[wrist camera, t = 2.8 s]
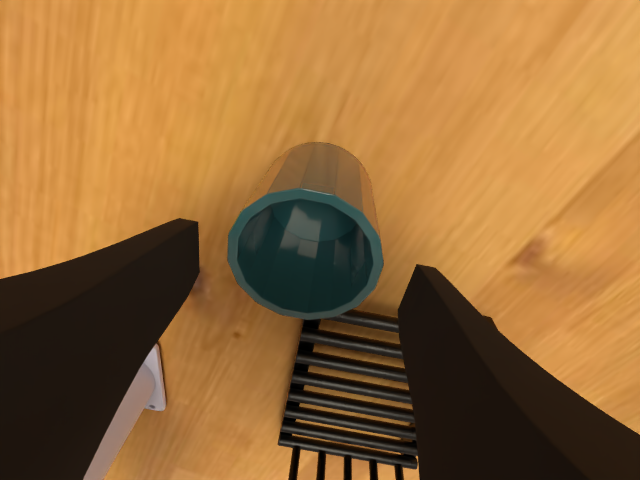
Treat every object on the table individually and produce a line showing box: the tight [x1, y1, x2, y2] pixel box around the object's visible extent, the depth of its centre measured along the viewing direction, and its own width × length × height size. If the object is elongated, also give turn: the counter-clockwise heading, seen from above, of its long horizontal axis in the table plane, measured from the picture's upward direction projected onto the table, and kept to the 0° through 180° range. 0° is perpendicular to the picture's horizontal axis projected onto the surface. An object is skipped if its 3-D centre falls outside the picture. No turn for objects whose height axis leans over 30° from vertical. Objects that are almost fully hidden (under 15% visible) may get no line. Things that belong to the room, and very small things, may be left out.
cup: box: [227, 142, 384, 320], centre depth 13 cm, size 5×5×6 cm
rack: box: [278, 309, 498, 480], centre depth 20 cm, size 11×15×7 cm
